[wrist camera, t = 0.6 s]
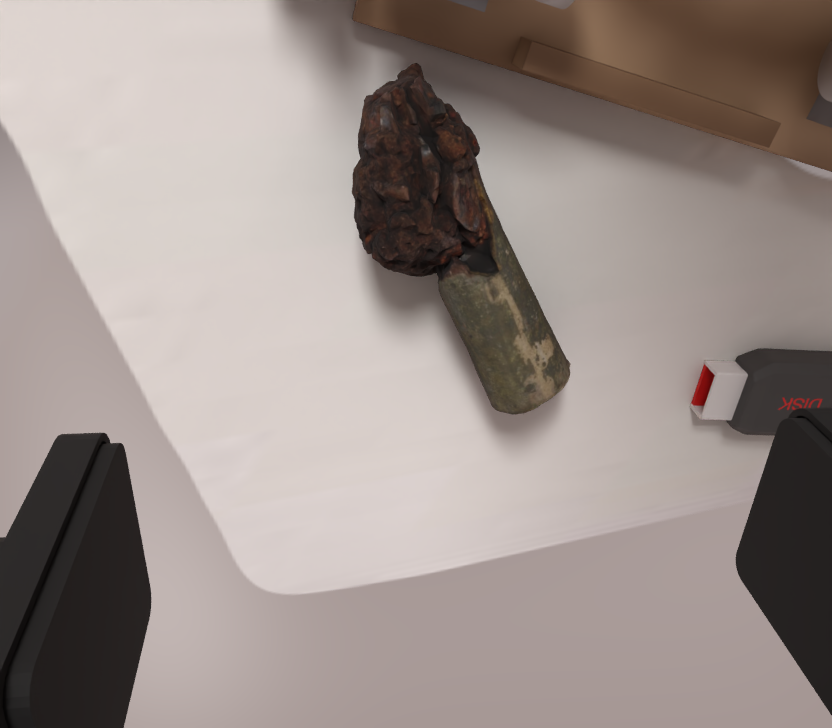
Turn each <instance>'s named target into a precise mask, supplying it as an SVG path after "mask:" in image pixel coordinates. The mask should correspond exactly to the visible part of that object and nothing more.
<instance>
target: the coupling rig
mask: <svg viewBox="0 0 832 728" xmlns="http://www.w3.org/2000/svg"><path fill="white" fill-rule="evenodd" d="M352 19H353V21H356V22H360V23H363V24H366V25H369V26H372V27H375V28H379V29H382V30H385V31H388V32H391V33H394V34H398V35H401V36H404V37H407V38H410V39H413V40H417V41H420V42H423V43H426V44H429V45H432V46H436V47H439V48H442V49H445V50H448V51H451V52H454V53H458V54H461V55H464V56H467V57H470V58H473V59H477V60H480V61H483V62H486V63H489V64H492V65H496V66H499V67H502V68H505V69H508V70H511V71H515V72H518V73H521V74H524V75H527V76H530V77H534V78H537V79H540V80H543V81H546V82H549V83H553V84H556V85H559V86H562V87H565V88H568V89H572V90H575V91H578V92H581V93H584V94H587V95H591V96H594V97H597V98H600V99H603V100H606V101H609V102H613V103H616V104H619V105H622V106H625V107H628V108H632V109H635V110H638V111H641V112H644V113H647V114H651V115H654V116H657V117H660V118H663V119H666V120H670V121H673V122H676V123H679V124H682V125H685V126H689V127H692V128H695V129H698V130H701V131H704V132H708V133H711V134H714V135H717V136H720V137H723V138H727V139H730V140H733V141H736V142H739V143H742V144H746V145H749V146H752V147H755V148H758V149H761V150H764V151H768V152H771V153H774V154H777V155H780V156H783V157H787V158H790V159H793V160H796V161H799V162H802V163H806V164H809V165H812V166H815V167H818V168H821V169H825V170H828V171H831V172H832V0H357V1H356V5H355V9H354V13H353V18H352Z"/></svg>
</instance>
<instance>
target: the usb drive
mask: <svg viewBox="0 0 832 728" xmlns="http://www.w3.org/2000/svg"><path fill="white" fill-rule="evenodd" d="M690 407H691V409H692V410H693V411H694V412H695V414H696V415H697V416H698V417H699V419H701V420H726V421H727V423H728V424H729V425H730V426H731V427H732V428H733V429H735V430H737V431H739V432H741V433H743V434H747V435H775V434H776V431H777V428H778V426H779V424H780V422H781V421H782V420H784V419H787V418H788V417H789V415H790V414H791V413H792V412H793V411H794V410H796V409H799V408H819V407H832V352H830V351H808V350H785V349H756V350H753V351H751V352H748V353H745V354H743V355H740V356H738V357H737V358H736V360H735V361H714V360H705V362H704V367H703V370H702V373H701V376H700V379H699V382H698V385H697V388H696V391H695V394H694V397H693V400H692V403H691V404H690Z"/></svg>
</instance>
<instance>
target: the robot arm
mask: <svg viewBox="0 0 832 728" xmlns="http://www.w3.org/2000/svg"><path fill="white" fill-rule="evenodd" d="M736 566H737V571H738V574H739V576H740V578H741V580H742V582H743V583H744V585H745V586H746V588H747V589H748V590H749V592H750V594H751V595H752V597H753V598H754V600H755V601H756V603H757V604H758V605H759V607H760V609H761V610H762V612H763V613H764V615H765V616H766V618H767V619H768V621H769V622H770V624H771V625H772V627H773V628H774V630H775V631H776V632H777V634H778V636H779V637H780V639H781V640H782V642H783V643H784V644H785V646H786V647H787V649H788V651H789V652H790V653H791V655H792V656H793V658H794V660H795V661H796V663H797V664H798V666H799V667H800V668H801V670H802V672H803V673H804V675H805V676H806V677H807V679H808V681H809V682H810V684H811V685H812V687H813V688H814V689H815V691H816V693H817V694H818V696H819V697H820V698H821V700H822V702H823V703H824V705H825V706H826V707H827V709H828V710H829V712H830V714H831V715H832V407H819V408H799V409H796V410H794V411H793V412H792V413H791V414H790V415H789V417H788V418H787V419H784V420H782V421H781V422H780V424H779V426H778V428H777V431H776V434H775V437H774V440H773V443H772V446H771V450H770V453H769V456H768V459H767V462H766V465H765V468H764V471H763V474H762V477H761V480H760V483H759V486H758V489H757V492H756V495H755V498H754V501H753V504H752V508H751V511H750V514H749V517H748V520H747V523H746V526H745V529H744V532H743V535H742V538H741V541H740V544H739V547H738V550H737V554H736ZM150 611H151V589H150V583H149V578H148V573H147V567H146V562H145V556H144V550H143V545H142V539H141V534H140V528H139V523H138V518H137V513H136V507H135V501H134V496H133V490H132V485H131V479H130V474H129V469H128V463H127V458H126V453H125V449H124V446H123V444H121V443H112V444H111V443H110V440H109V438H108V436H107V434H105V433H84V434H61V435H59V436H58V437H57V438H56V440H55V441H54V443H53V445H52V447H51V449H50V451H49V453H48V455H47V457H46V459H45V461H44V463H43V465H42V467H41V469H40V471H39V473H38V475H37V477H36V479H35V481H34V483H33V485H32V487H31V489H30V491H29V493H28V495H27V496H26V499H25V500H24V502H23V504H22V506H21V508H20V510H19V512H18V514H17V516H16V519H15V520H14V522H13V524H12V526H11V528H10V530H9V532H8V534H7V536H6V537H4V538H0V728H124V723H125V719H126V714H127V711H128V706H129V702H130V698H131V694H132V689H133V685H134V681H135V677H136V673H137V668H138V664H139V660H140V656H141V651H142V647H143V643H144V639H145V634H146V630H147V625H148V622H149V617H150Z"/></svg>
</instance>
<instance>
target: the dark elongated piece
mask: <svg viewBox="0 0 832 728" xmlns="http://www.w3.org/2000/svg"><path fill="white" fill-rule="evenodd" d="M397 76H398V80H396V81H389V82H387V83H386V84H385V85H383V86H382V87H380V88H379V89H378V90H376V91H375V92H374V94H373V95H368V96H366V98H365V100H364V106H363V110H362V119H361V125H360V129H359V133H358V148H359V154H360V158H361V159H360V160H359V162H358V164H357V165H356V167H355V168H354V172H353V188H352V194H353V196H354V198H355V211H354V218H355V222H356V223H357V229H358V231H359V238H360V239H361V240H362V242H363V243H362V244H363V247H364V249H365V250H366V252H367V254H371V253H372V257H373V259H375V260H376V261H377V262H379V263H380V264H381V265H382V266H383V267H384V268H386V269H388V270H392V271H394V272H400V273H403V274H406V275H410V276H420V277H422V276H427V275H431V274H434V273H437V275H438V277H439V281H438V284H439V292H440V294H441V297H442V299H443V301H444V303H445V305H446V307H447V309H448V311H449V313H450V315H451V317H452V319H453V321H454V323H455V326H456V328H457V330H458V332H459V334H460V336H461V338H462V340H463V342H464V344H465V345H466V347H467V349H468V351H469V354H470V356H471V359H472V361H473V364H474V366H475V369H476V371H477V373H478V376H479V378H480V380H481V382H482V385H483V387H484V389H485V391H486V393H487V396H488V398H489V400H490V402H491V405H492V407H494V408H495V409H496V410H497V411H500V412H505V413H509V414H521V413H526V412H528V411H531V410H533V409H535V408H537V407H538V406H540V405H541V404H543V403H544V402H546V401H548V400H549V399H551V398H552V397H553V396H555V395H556V394H557V393H558V392H560V391H561V390H562V389H563V388H564V387H565V385H566V383H567V382H568V379H569V376H570V369H569V368H570V363H569V361H568V360H567V359H566V357H565V355H564V353H563V351H562V349H561V347H560V345H559V343H558V341H557V339H556V337H555V335H554V333H553V331H552V329H551V327H550V325H549V323H548V321H547V320H546V318H545V316H544V314H543V311H542V309H541V307H540V305H539V302H538V300H537V298H536V296H535V294H534V292H533V290H532V288H531V286H530V284H529V282H528V280H527V278H526V276H525V274H524V272H523V270H522V268H521V266H520V264H519V262H518V260H517V257H516V255H515V253H514V251H513V249H512V247H511V245H510V243H509V241H508V238H507V237H506V235H505V233H504V231H503V229H502V226H501V223H500V221H499V219H498V216H497V214H496V212H495V210H494V208H493V206H492V204H491V202H490V200H489V197H488V195H487V193H486V190H485V187H484V184H483V182H482V179H481V176H480V172H479V168H478V164H477V161H476V158H475V157H476V156H477V155H478V154H479V151H480V147H479V144H478V142H477V139H476V136H475V135H474V133H473V132H472V130H471V129H470V127H468V126H466V125H465V124H464V123H463V121H462V119H461V117H460V115H459V113H458V112H456V111H455V110H454V109H453V107H452V106H451V105H450V104H444V103H443V102H442V100H441V99H439V98H437V97H436V95H435V93H434V92H433V90H432V88H431V85H430V84H428V83H427V82H426V81H425V80H424V76H423V73H422V70H421V66H420V65H418V64H417V63H415V64H412V65H411V66H409V67H408V68H407V69H406V70H404V71H401V72H400V73H399V74H398V75H397Z"/></svg>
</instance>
